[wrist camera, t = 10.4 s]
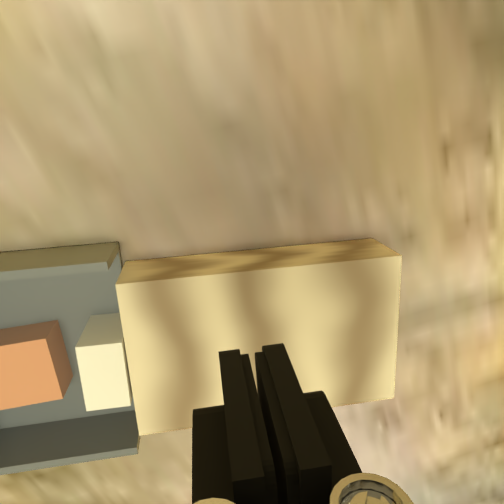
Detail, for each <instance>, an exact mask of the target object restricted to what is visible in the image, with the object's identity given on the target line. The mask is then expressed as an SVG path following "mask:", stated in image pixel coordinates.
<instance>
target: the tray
mask: <svg viewBox="0 0 504 504" xmlns="http://www.w3.org/2000/svg"><path fill="white" fill-rule="evenodd" d="M121 270H122V262H121V255H120V249H119V242H110V243H98V244H87V245H75V246H64V247H53V248H41V249H30V250H18V251H7V252H0V329H5V328H11V327H17V326H23V325H29V324H36V323H42V322H48V321H54V320H58V322H59V326H60V329H61V333H62V337H63V340H64V344H65V347H66V351H67V355H68V358H69V362H70V366H71V369H72V373H73V378H72V380H71V382H70V384H69V387H68V389H67V391H66V393H65V396H64V398H63V399H59V400H53V401H48V402H42V403H37V404H31V405H26V406H21V407H15V408H10V409H4V410H0V475H4V474H11V473H17V472H24V471H30V470H37V469H43V468H50V467H56V466H63V465H69V464H76V463H82V462H89V461H95V460H102V459H108V458H115V457H121V456H128V455H134V454H138V450H139V443H140V436H139V431H138V425H137V419H136V412H135V406H134V400H133V396H132V401H131V406H125V407H117V408H109V409H101V410H93V411H86V406H85V401H84V395H83V389H82V384H81V378H80V373H79V367H78V361H77V356H76V350H75V347H76V345H77V343H78V341H79V339H80V337H81V335H82V332H83V330H84V328H85V326H86V324H87V322H88V320H89V318H90V316H91V315H101V314H111V313H120V311H119V305H118V298H117V292H116V286H115V284H116V282H117V280H118V277H119V275H120V273H121Z"/></svg>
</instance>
